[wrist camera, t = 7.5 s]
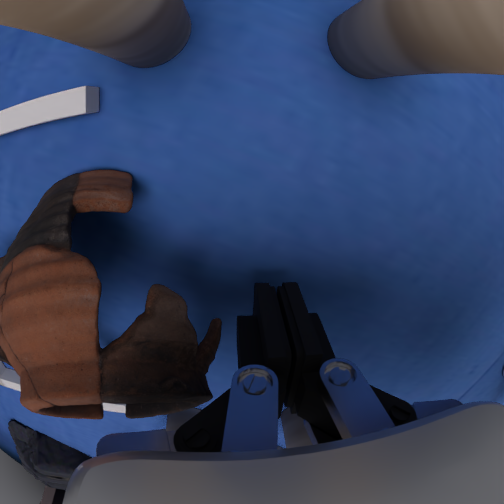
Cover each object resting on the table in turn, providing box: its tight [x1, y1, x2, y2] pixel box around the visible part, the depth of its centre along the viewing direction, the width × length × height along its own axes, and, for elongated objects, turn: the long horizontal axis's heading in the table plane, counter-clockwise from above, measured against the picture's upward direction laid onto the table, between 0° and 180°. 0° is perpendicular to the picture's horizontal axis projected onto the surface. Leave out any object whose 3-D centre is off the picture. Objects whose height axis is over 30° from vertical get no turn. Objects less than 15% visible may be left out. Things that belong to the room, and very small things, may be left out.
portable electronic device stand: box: [40, 486, 66, 504], centre depth 27 cm, size 9×8×8 cm
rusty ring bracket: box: [0, 170, 222, 419], centre depth 10 cm, size 12×10×8 cm
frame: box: [0, 86, 126, 413], centre depth 12 cm, size 14×18×1 cm
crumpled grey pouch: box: [8, 420, 92, 490], centre depth 23 cm, size 15×22×5 cm
